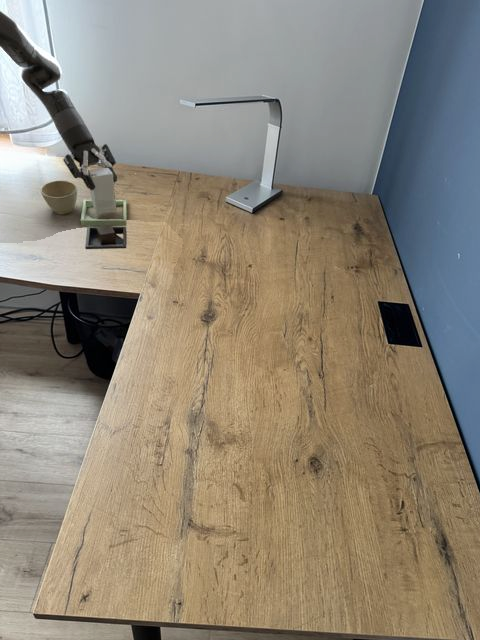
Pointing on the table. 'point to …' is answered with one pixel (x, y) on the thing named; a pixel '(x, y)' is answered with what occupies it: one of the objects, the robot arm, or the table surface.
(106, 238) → the dark block
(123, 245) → the dark tray
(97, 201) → the cosmetic box
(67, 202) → the bowl
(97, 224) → the light tray
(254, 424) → the table surface
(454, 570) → the table surface
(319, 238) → the table surface
